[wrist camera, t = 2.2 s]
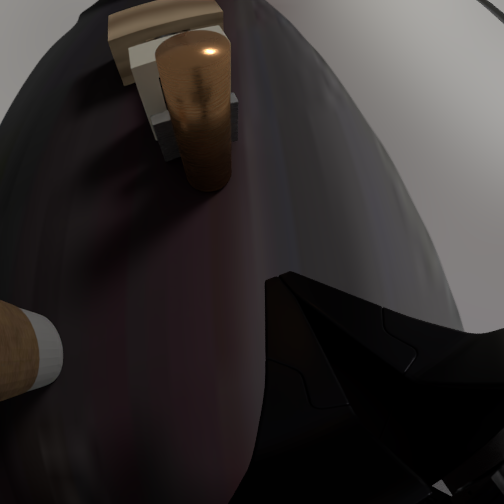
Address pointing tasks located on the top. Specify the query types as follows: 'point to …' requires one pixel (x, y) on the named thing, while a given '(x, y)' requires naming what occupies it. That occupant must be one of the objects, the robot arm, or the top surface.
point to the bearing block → (156, 26)
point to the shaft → (197, 106)
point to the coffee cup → (27, 351)
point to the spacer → (154, 73)
